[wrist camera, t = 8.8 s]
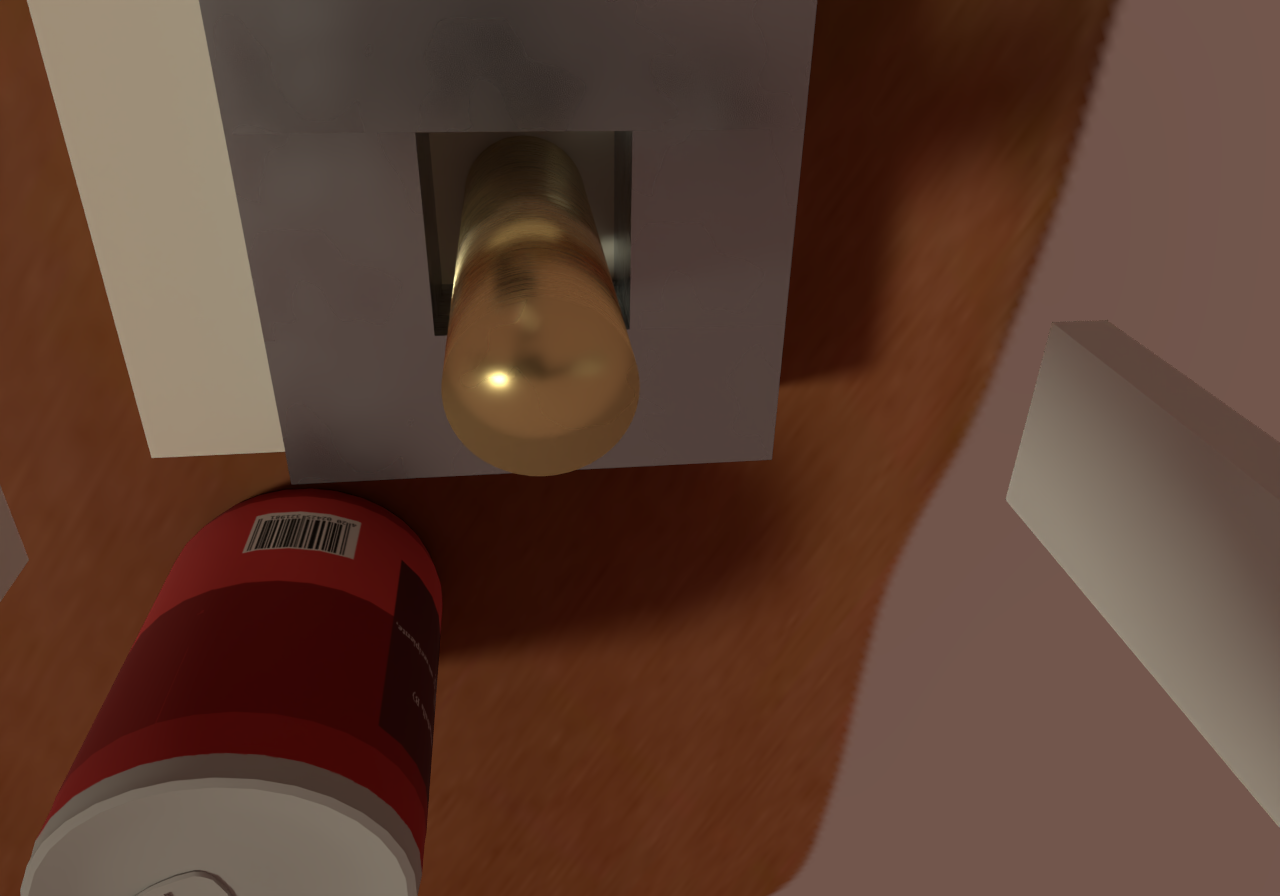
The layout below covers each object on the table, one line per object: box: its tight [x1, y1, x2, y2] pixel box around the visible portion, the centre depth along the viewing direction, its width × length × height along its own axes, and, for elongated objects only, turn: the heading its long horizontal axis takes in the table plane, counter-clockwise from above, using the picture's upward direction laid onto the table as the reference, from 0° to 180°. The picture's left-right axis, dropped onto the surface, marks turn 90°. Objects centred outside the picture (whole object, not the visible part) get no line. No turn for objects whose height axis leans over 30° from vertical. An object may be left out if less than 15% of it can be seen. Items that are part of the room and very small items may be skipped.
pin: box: [441, 135, 640, 476], centre depth 19 cm, size 3×3×11 cm
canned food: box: [20, 488, 443, 896], centre depth 24 cm, size 8×8×11 cm
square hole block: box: [199, 0, 817, 484], centre depth 22 cm, size 12×12×4 cm
